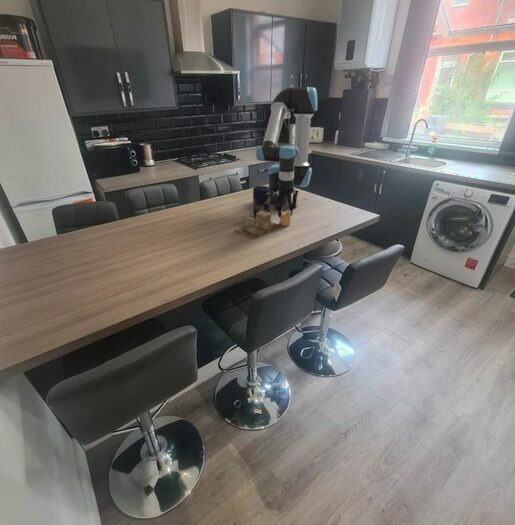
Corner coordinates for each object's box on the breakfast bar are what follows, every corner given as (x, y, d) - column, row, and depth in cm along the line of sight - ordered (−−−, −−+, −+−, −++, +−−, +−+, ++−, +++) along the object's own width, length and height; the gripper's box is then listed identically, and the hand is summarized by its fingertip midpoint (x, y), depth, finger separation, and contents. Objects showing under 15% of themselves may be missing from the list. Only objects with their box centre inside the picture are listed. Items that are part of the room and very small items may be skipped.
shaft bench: (259, 219, 166) (259, 207, 163) (278, 226, 158) (279, 213, 155) (234, 231, 154) (233, 218, 150) (253, 238, 146) (253, 225, 142)
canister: (260, 211, 177) (260, 182, 168) (273, 215, 172) (273, 185, 163) (250, 216, 171) (249, 186, 162) (262, 220, 166) (262, 189, 156)
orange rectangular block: (279, 222, 162) (279, 212, 159) (286, 221, 163) (286, 211, 160) (282, 226, 158) (283, 215, 155) (289, 225, 159) (290, 214, 156)
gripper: (273, 182, 142) (272, 226, 154) (304, 179, 146) (301, 222, 158) (268, 178, 148) (268, 221, 160) (298, 175, 152) (296, 217, 165)
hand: (284, 221), depth 159 cm, fingers closed on orange rectangular block, 4 cm apart
